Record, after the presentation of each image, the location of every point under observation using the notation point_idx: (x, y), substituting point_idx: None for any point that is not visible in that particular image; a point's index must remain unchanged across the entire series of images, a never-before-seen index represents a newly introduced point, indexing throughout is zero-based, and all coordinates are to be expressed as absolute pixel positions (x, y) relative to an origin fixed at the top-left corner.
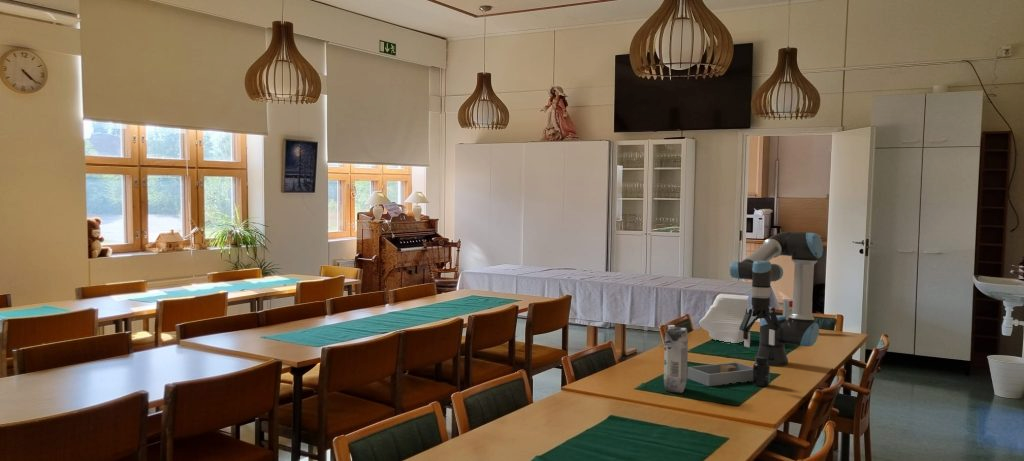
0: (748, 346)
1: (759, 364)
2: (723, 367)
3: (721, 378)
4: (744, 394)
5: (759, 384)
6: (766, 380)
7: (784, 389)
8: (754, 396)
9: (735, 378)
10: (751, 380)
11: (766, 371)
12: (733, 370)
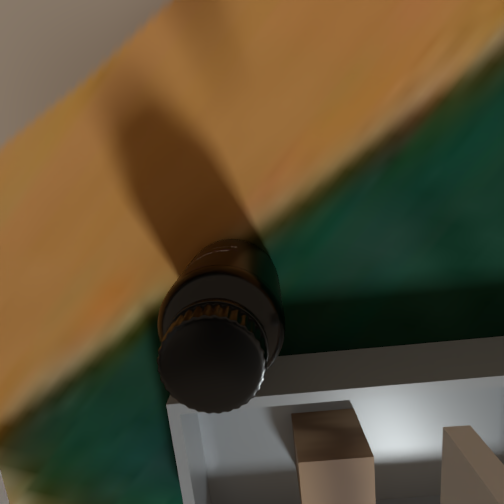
0: (477, 434)
1: (261, 312)
2: (374, 489)
3: (469, 358)
4: (472, 125)
5: (266, 254)
6: (226, 245)
7: (160, 157)
8: (448, 67)
9: (355, 363)
10: None
11: (222, 259)
12: (322, 446)
